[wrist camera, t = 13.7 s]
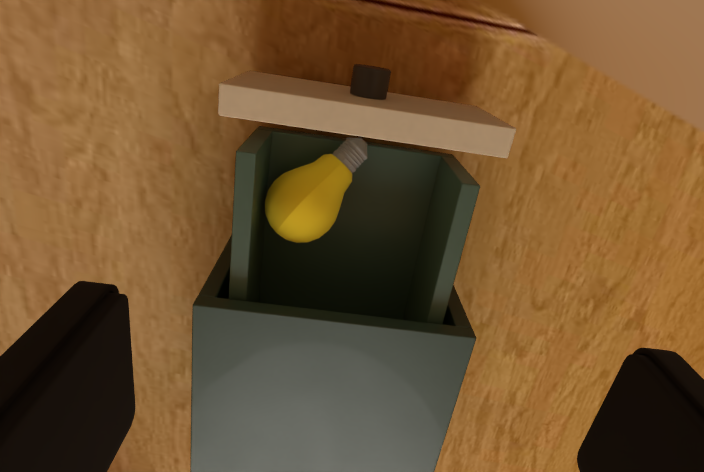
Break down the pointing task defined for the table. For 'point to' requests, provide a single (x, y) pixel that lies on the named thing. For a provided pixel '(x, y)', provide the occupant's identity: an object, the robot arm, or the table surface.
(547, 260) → the table surface
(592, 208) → the table surface
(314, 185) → the light bulb
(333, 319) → the cabinet
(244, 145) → the drawer
